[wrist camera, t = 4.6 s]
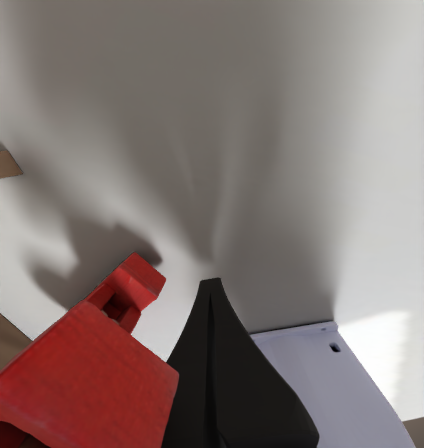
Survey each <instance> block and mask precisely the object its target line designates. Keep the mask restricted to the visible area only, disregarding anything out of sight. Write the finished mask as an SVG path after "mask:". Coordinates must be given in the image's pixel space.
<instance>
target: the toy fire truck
mask: <svg viewBox="0 0 424 448" xmlns="http://www.w3.org/2000/svg"><path fill="white" fill-rule="evenodd" d="M165 282H166V278H165V277H164V276H163V275H161V274H160V273H159V272H158V271H157V270H156V269H154V268H153V267H152V266H151V265H150V264H149V263H147V262H146V261H145V260H144V259H143V258H141V257H140V256H139V255H138V254H137V253H135V252H134V253H132V254H131V255H130V256H129V257H128V258H127V259H126V260H125V261H123V262H122V263H121V264H120V265H119V266H118V267H117V268H116V269H115V270H114V271H113V272H112V273H111V274H109V275H108V276H107V277H106V278H105V279H104V280H103V281H102V282H101V283H100V284H99V285H98V286H97V287H96V288H95V290H94V291H93V292H92V293H91V294H89V295H88V296H87V297H86V298H85V299H84V300H81V301H80V302H79V303H78V304H76V305H75V306H74V307H72V308H71V309H70V310H69V311H68V312H67V313H66V314H65V315H64V316H63V317H62V318H60V319H59V320H58V321H56V322H55V323H54V324H53V325H51V326H50V327H49V328H48V329H46V330H45V331H44V332H43V333H42V334H41V335H39V336H38V337H37V338H36V339H35V340H34V341H32V342H31V343H30V344H29V345H28V346H27V347H26V348H24V349H23V350H22V351H20V352H19V353H18V354H16V355H15V356H14V357H13V358H12V359H11V360H10V361H9V362H8V363H7V364H6V366H5V367H4V368H3V369H2V370H0V448H161V445H162V440H163V436H164V432H165V428H166V425H167V422H168V418H169V414H170V410H171V407H172V403H173V398H174V396H175V393H176V390H177V385H178V380H179V373H178V372H177V371H176V370H175V369H173V368H172V367H171V366H170V365H168V364H167V363H166V362H164V361H163V360H161V358H160V357H158V356H157V355H155V354H154V353H153V352H152V351H150V350H149V349H148V348H146V347H145V346H143V345H142V344H141V343H140V342H139V341H137V340H136V339H135V338H134V337H132V335H131V333H132V331H133V329H134V327H135V326H136V324H137V322H138V320H139V318H140V316H141V311H142V310H143V309H145V308H146V307H147V306H148V305H149V304H150V303H152V302H153V301H154V300H156V299H157V298H158V296H159V293H160V292H161V290H162V288H163V286H164V284H165Z"/></svg>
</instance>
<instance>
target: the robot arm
mask: <svg viewBox="0 0 424 448" xmlns="http://www.w3.org/2000/svg"><path fill="white" fill-rule="evenodd" d="M337 330H338V325H337V323H336V322H334V321H331V322H324V323H318V324H312V325H306V326H300V327H294V328H288V329H282V330H275V331H269V332H263V333H257V334H251V335H249V334H248V332H247V331H246V329H245V328H244V326H243V325H242V323H241V322H240V320H239V318H238V317H237V315H236V313H235V312H234V310H233V308H232V306H231V304H230V302H229V300H228V298H227V296H226V294H225V291H224V289H223V286H222V283H221V278H219V277H218V278H212V279H207V280H201V281H200V285H199V289H198V292H197V296H196V299H195V302H194V305H193V307H192V310H191V313H190V315H189V318H188V320H187V322H186V325H185V327H184V329H183V331H182V333H181V336H180V338H179V340H178V342H177V344H176V345H175V347H174V349H173V351H172V353H171V355H170V356H169V358H168V360H167V362H166V363H167V364H168V365H170V366H171V367H172V368H173V369H175V370H176V371H177V372H178V373H179V380H178V385H177V390H176V393H175V396H174V398H173V403H172V407H171V410H170V414H169V418H168V422H167V425H166V428H165V432H164V436H163V440H162V445H161V448H415V446H414V443H413V441H412V440H411V438H410V436H409V434H408V432H407V430H406V428H405V427H404V425H403V423H402V422H401V420H400V418H399V417H398V415H397V414H396V412H395V411H394V409H393V408H392V406H391V405H390V404H389V402H388V401H387V399H386V398H385V397H384V395H383V394H382V392H381V391H380V390H379V388H378V387H377V385H376V384H375V383H374V381H373V380H372V378H371V377H370V376H369V374H368V373H367V371H366V370H365V369H364V367H363V366H362V364H361V363H360V362H359V360H358V359H357V358H356V356H355V355H354V353H353V352H352V351H351V349H350V348H349V346H348V345H347V344H346V342H345V341H344V339H343V338H342V337H341V335H340V334H339V332H338V331H337Z"/></svg>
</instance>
